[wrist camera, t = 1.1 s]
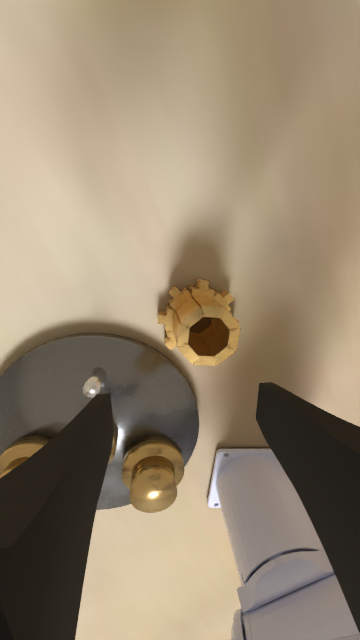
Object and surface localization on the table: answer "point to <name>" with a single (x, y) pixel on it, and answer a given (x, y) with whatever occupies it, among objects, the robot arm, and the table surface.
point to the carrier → (127, 407)
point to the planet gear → (189, 310)
